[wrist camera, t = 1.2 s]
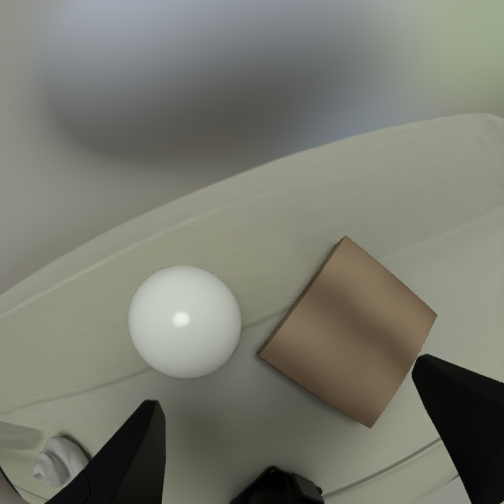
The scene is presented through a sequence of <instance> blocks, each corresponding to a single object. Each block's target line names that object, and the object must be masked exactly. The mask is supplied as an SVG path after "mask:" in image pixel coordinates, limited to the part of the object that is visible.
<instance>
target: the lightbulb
mask: <svg viewBox="0 0 504 504" xmlns="http://www.w3.org/2000/svg"><path fill="white" fill-rule="evenodd" d="M127 325H128V332H129V336H130V339H131V342H132V344H133V346H134V348H135V350H136V351H137V353H138V354H139V356H140V357H141V358H142V359H143V360H144V361H145V362H146V363H147V364H148V365H149V366H150V367H152V368H153V369H154V370H156V371H158V372H160V373H162V374H164V375H166V376H169V377H173V378H178V379H195V378H200V377H204V376H206V375H209V374H211V373H213V372H215V371H216V370H218V369H219V368H221V367H222V366H223V365H224V364H225V363H226V362H227V361H228V360H229V359H230V358H231V356H232V355H233V353H234V352H235V350H236V348H237V346H238V343H239V340H240V336H241V331H242V316H241V311H240V307H239V304H238V301H237V299H236V297H235V295H234V294H233V292H232V291H231V289H230V288H229V287H228V285H227V284H226V283H225V282H224V281H223V280H222V279H221V278H219V277H218V276H217V275H215V274H214V273H212V272H210V271H208V270H206V269H203V268H201V267H197V266H193V265H173V266H168V267H165V268H162V269H160V270H158V271H156V272H154V273H153V274H151V275H150V276H148V277H147V278H146V279H145V280H144V281H143V282H142V283H141V284H140V285H139V287H138V288H137V289H136V291H135V293H134V295H133V297H132V299H131V301H130V305H129V309H128V315H127Z"/></svg>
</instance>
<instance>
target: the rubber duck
mask: <svg viewBox="0 0 504 504" xmlns="http://www.w3.org/2000/svg"><path fill="white" fill-rule="evenodd" d="M88 463H89V462H88V460H87V458H86V456H85V455H84V454H83V452H82V450H81V449H80V448H79V447H78V446H77V445H76V444H74V443H73V442H71V441H70V440H68V439H66V438H62V437H57V436H54V437H52V438H50V439H49V440H48V442H47V443H46V445H45V447H44V449H43V452H40V453H39V454H38V456H37V458H36V461H35V464H34V473H33V477H32V478H34V479H38V480H40V481H42V482H44V483H45V484H47V485H50V486H55V487H59V486H61V485H63V487H65V486H67V485H68V484H69V483H70V482H71V481H72V480H73V479H74V478H75V477H76V476H77V475H78V474H79V472H80V471H81V470H82V469H85V466H86V465H87V464H88Z"/></svg>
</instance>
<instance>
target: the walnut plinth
mask: <svg viewBox="0 0 504 504" xmlns="http://www.w3.org/2000/svg"><path fill="white" fill-rule="evenodd" d="M436 317H437V314H436V313H435V312H434V311H433V310H432V309H431V308H430V307H429V306H428V305H426V304H425V303H424V302H423V301H422V300H421V299H420V298H419V297H418V296H417V295H416V294H414V293H413V292H412V291H411V290H410V289H409V288H408V287H407V286H406V285H404V284H403V283H402V282H401V281H400V280H399V279H398V278H397V277H395V276H394V275H393V274H392V273H391V272H390V271H388V270H387V269H386V268H385V267H384V266H383V265H381V264H380V263H379V262H378V261H377V260H375V259H374V258H373V257H372V256H371V255H369V254H368V253H367V252H366V251H365V250H363V249H362V248H361V247H360V246H358V245H357V244H356V243H355V242H353V241H352V240H351V239H350V238H348V237H347V236H345V237H343V238H342V239H341V240H340V241H339V242H338V243H337V244H336V245H335V246H334V248H333V249H332V251H331V252H330V254H329V255H328V257H327V258H326V259H325V261H324V262H323V264H322V265H321V267H320V268H319V270H318V271H317V272H316V274H315V275H314V277H313V278H312V279H311V281H310V282H309V284H308V285H307V286H306V288H305V289H304V291H303V292H302V293H301V295H300V296H299V297H298V299H297V300H296V302H295V303H294V304H293V306H292V307H291V308H290V310H289V311H288V312H287V314H286V315H285V316H284V318H283V319H282V320H281V322H280V323H279V324H278V325H277V327H276V328H275V329H274V331H273V332H272V333H271V335H270V336H269V337H268V338H267V340H266V341H265V342H264V343H263V345H262V346H261V347H260V349H259V350H258V351H257V352H256V353H257V354H258V355H259V356H260V357H262V358H263V359H265V360H266V361H267V362H269V363H270V364H271V365H273V366H274V367H276V368H277V369H278V370H280V371H281V372H283V373H284V374H285V375H287V376H288V377H290V378H291V379H293V380H294V381H296V382H297V383H298V384H300V385H301V386H303V387H304V388H306V389H307V390H309V391H310V392H312V393H313V394H315V395H316V396H318V397H319V398H321V399H323V400H324V401H326V402H327V403H329V404H330V405H332V406H333V407H335V408H337V409H338V410H340V411H341V412H343V413H345V414H346V415H348V416H350V417H351V418H353V419H355V420H356V421H358V422H360V423H361V424H363V425H365V426H367V427H368V428H370V429H371V427H372V426H373V425H374V423H375V422H376V421H377V419H378V418H379V416H380V415H381V414H382V412H383V411H384V409H385V408H386V406H387V405H388V403H389V402H390V400H391V399H392V397H393V396H394V394H395V393H396V391H397V390H398V388H399V386H400V385H401V383H402V382H403V380H404V378H405V377H406V375H407V373H408V372H409V370H410V368H411V366H412V365H413V363H414V361H415V359H416V357H417V355H418V354H419V352H420V350H421V348H422V346H423V344H424V342H425V340H426V338H427V336H428V334H429V332H430V330H431V328H432V325H433V323H434V321H435V319H436Z"/></svg>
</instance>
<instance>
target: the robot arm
mask: <svg viewBox="0 0 504 504" xmlns="http://www.w3.org/2000/svg"><path fill="white" fill-rule="evenodd" d="M412 379H413V382H414V384H415V386H416V388H417V391H418V393H419V395H420V398H421V400H422V402H423V405H424V407H425V409H426V411H427V413H428V415H429V417H430V418H431V420H432V422H433V424H434V426H435V428H436V429H437V431H438V433H439V435H440V437H441V439H442V441H443V443H444V445H445V447H446V449H447V451H448V453H449V455H450V457H451V459H452V461H453V463H454V465H455V467H456V469H457V471H458V474H459V476H460V478H461V480H462V482H463V483H464V484H463V485H464V487H465V489H466V491H467V494H468V496H469V499H470V501H471V503H472V504H500V503H502V502H503V501H504V383H502V382H499V381H497V380H494V379H491V378H489V377H486V376H483V375H481V374H478V373H475V372H473V371H470V370H468V369H465V368H462V367H460V366H457V365H455V364H452V363H449V362H447V361H444V360H442V359H439V358H437V357H434V356H432V355H429V354H424V355H421V356H419V357H418V358H417V359H416V362H415V365H414V368H413V371H412ZM165 463H166V420H165V415H164V413H163V410H162V408H161V406H160V403H159V401H158V400H150V399H147V400H145V401H143V403H142V404H141V405H140V406H139V407H138V408H137V409H136V410H135V412H134V413H133V414H132V415H131V416H130V417H129V418H128V419H127V421H126V422H125V423H124V424H123V425H122V426H121V427H120V428H119V430H118V431H117V432H116V433H115V434H114V435H113V436H112V437H111V439H110V440H109V441H108V442H107V443H106V444H105V445H104V446H103V447H102V448H101V450H100V451H99V452H98V453H97V454H96V455H95V456H94V457H93V458H92V460H91V461H90V462H89V463H88V464H87V465H86V466H85V469H82V470H81V471H80V472H79V474H78V475H77V476H76V477H75V478H74V479H73V480H72V481H71V482H70V483H69V484H68V485H67V486H65V487H64V488H63V489H62V490H61V491H60V492H59V493H57V494H56V495H55V496H54V497H52V498H51V499H50V500H49V501H47V502H46V503H45V504H162V493H163V483H164V473H165ZM272 470H274V472H272V473H271V472H270V471H272ZM321 494H322V489H321V488H320V487H317V486H315V485H314V483H313V482H311V481H309V480H307V479H305V478H303V477H300V476H298V475H296V474H294V473H293V474H289V473H287V472H285V471H283V470H281V469H279V468H277V467H274V466H271V467H269V468H267V469H266V470H265V471H264V472H263V473H262V474H261V475H260V476H259V477H258V478H257V479H256V480H255V481H254V482H253V483H252V484H250V485H249V486H248V487H247V488H246V489H245V490H244V491H243V492H241V493H240V494H239V495H238V496H237V497H236V498H234V499H233V500H232V501H231V502H230V504H324V500H323V499H322V497H321Z"/></svg>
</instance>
